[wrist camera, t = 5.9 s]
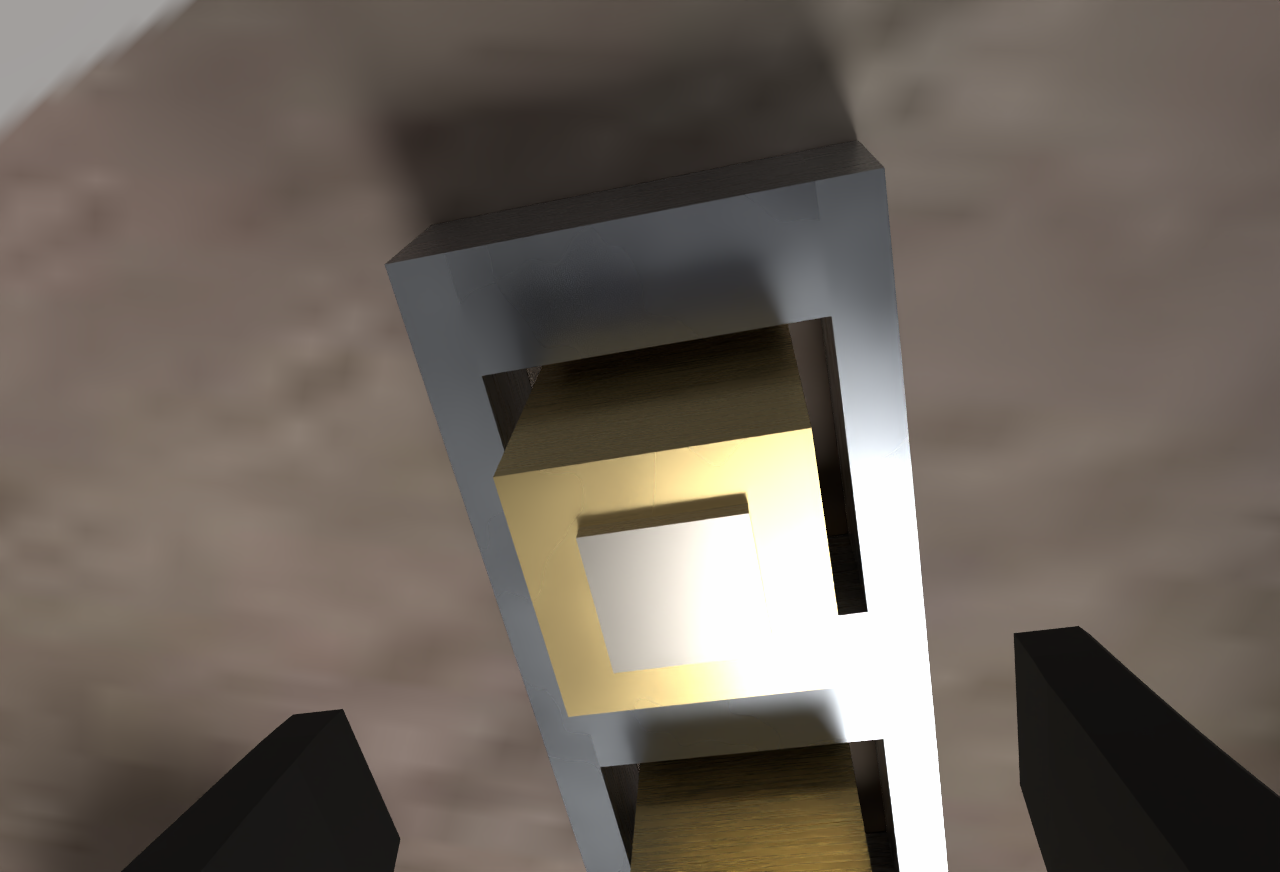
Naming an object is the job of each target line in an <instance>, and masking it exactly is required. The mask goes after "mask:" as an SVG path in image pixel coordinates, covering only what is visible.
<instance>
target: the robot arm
mask: <svg viewBox="0 0 1280 872" xmlns="http://www.w3.org/2000/svg"><path fill="white" fill-rule="evenodd" d="M1014 650H1015V674H1016V698H1017V722H1018V746H1019V770H1020V786H1021V789H1022V792H1023V796H1024V799H1025V802H1026V805H1027V809H1028V812H1029V815H1030V818H1031V822H1032V825H1033V828H1034V831H1035V835H1036V838H1037V841H1038V844H1039V847H1040V850H1041V853H1042V856H1043V860H1044V863H1045V866H1046V869H1047V872H1280V797H1279V796H1278V795H1277V794H1276V793H1275V792H1273V791H1272V790H1271V789H1270V788H1268V787H1267V786H1266V785H1265V784H1263V783H1262V782H1261V781H1260V780H1258V779H1257V778H1256V777H1255V776H1254V775H1252V774H1251V773H1250V772H1249V771H1247V770H1246V769H1245V768H1244V767H1242V766H1241V765H1240V764H1239V763H1237V762H1236V761H1235V760H1234V759H1233V758H1231V757H1230V756H1229V755H1228V754H1226V753H1225V752H1224V751H1223V750H1221V749H1220V748H1219V747H1218V746H1216V745H1215V744H1214V743H1213V742H1212V741H1211V740H1209V739H1208V738H1207V737H1206V736H1205V735H1203V734H1202V733H1201V732H1200V731H1199V730H1197V729H1196V728H1195V727H1194V726H1193V725H1192V724H1190V723H1189V722H1188V721H1187V720H1186V719H1185V718H1183V717H1182V716H1181V715H1180V714H1179V713H1178V712H1176V711H1175V710H1174V709H1173V708H1172V707H1171V706H1170V705H1168V704H1167V703H1166V702H1165V701H1164V700H1163V699H1161V698H1160V697H1159V696H1158V695H1157V694H1156V693H1155V692H1153V691H1152V690H1151V689H1150V688H1149V687H1148V686H1147V685H1145V684H1144V683H1143V682H1142V681H1141V680H1140V679H1139V678H1138V677H1136V676H1135V675H1134V674H1133V673H1132V672H1131V671H1130V670H1129V669H1128V668H1126V667H1125V666H1124V665H1123V664H1122V663H1121V662H1120V661H1119V660H1118V659H1116V658H1115V657H1114V656H1113V655H1112V654H1111V653H1110V652H1109V651H1108V650H1106V649H1105V648H1104V647H1103V646H1102V645H1101V644H1100V643H1099V642H1098V641H1097V640H1095V639H1094V638H1093V637H1092V636H1091V635H1090V634H1088V633H1087V632H1086V631H1084V630H1083V629H1082V628H1080V627H1079V626H1075V627H1067V628H1058V629H1049V630H1040V631H1031V632H1022V633H1014ZM399 843H400V837H399V835H398V832H397V830H396V828H395V826H394V823H393V821H392V819H391V817H390V814H389V812H388V810H387V808H386V805H385V803H384V801H383V799H382V796H381V794H380V792H379V790H378V787H377V785H376V783H375V780H374V778H373V776H372V774H371V771H370V769H369V767H368V765H367V762H366V760H365V758H364V756H363V753H362V751H361V749H360V747H359V744H358V742H357V740H356V738H355V735H354V733H353V731H352V729H351V726H350V724H349V722H348V720H347V717H346V715H345V713H344V711H343V709H339V710H330V711H321V712H312V713H303V714H295V715H292V716H291V717H290V718H288V719H287V720H286V721H285V722H284V723H282V724H281V725H280V726H279V727H278V728H276V729H275V730H274V731H273V732H272V733H271V734H269V735H268V736H267V737H266V738H265V739H264V740H263V741H261V742H260V743H259V744H258V745H257V746H256V747H255V748H254V749H253V750H251V751H250V752H249V753H248V754H247V755H246V756H245V757H244V758H243V759H242V760H241V761H239V762H238V763H237V764H236V765H235V766H234V767H233V768H232V769H231V770H230V771H229V772H228V773H227V774H225V775H224V776H223V777H222V778H221V779H220V780H219V781H218V782H217V783H216V784H215V785H214V786H213V787H212V788H210V789H209V790H208V791H207V792H206V793H205V794H204V795H203V796H202V797H201V798H200V799H199V800H198V801H197V802H196V803H194V804H193V805H192V806H191V807H190V808H189V809H188V810H187V811H186V812H185V813H184V814H183V815H182V816H180V817H179V818H178V819H177V820H176V821H175V822H174V823H173V824H172V825H171V826H170V827H169V828H168V829H166V830H165V831H164V832H163V833H162V834H161V835H160V836H159V837H158V838H157V839H156V840H155V841H153V842H152V843H151V844H150V845H149V846H148V847H147V848H146V849H145V850H144V851H143V852H142V853H141V854H139V855H138V856H137V857H136V858H135V859H134V860H133V861H132V862H131V863H130V864H129V865H128V866H127V867H125V868H124V869H123V870H122V871H121V872H394V867H395V862H396V858H397V853H398V848H399Z"/></svg>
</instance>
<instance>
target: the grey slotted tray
mask: <svg viewBox="0 0 1280 872" xmlns="http://www.w3.org/2000/svg"><path fill="white" fill-rule="evenodd" d="M385 267H386V270H387V273H388V276H389V279H390V282H391V285H392V288H393V291H394V294H395V297H396V300H397V303H398V306H399V309H400V312H401V315H402V318H403V321H404V324H405V327H406V330H407V333H408V336H409V339H410V342H411V345H412V348H413V351H414V354H415V357H416V360H417V363H418V366H419V369H420V372H421V375H422V378H423V381H424V384H425V387H426V390H427V393H428V396H429V399H430V402H431V405H432V408H433V411H434V414H435V417H436V420H437V423H438V426H439V429H440V432H441V435H442V438H443V441H444V444H445V447H446V450H447V453H448V456H449V459H450V462H451V465H452V468H453V471H454V474H455V477H456V480H457V483H458V486H459V489H460V492H461V495H462V498H463V501H464V504H465V507H466V510H467V513H468V516H469V519H470V522H471V525H472V528H473V531H474V534H475V537H476V540H477V543H478V546H479V549H480V552H481V555H482V558H483V561H484V564H485V567H486V570H487V573H488V576H489V579H490V582H491V585H492V588H493V591H494V594H495V597H496V600H497V603H498V606H499V609H500V612H501V615H502V618H503V621H504V624H505V627H506V630H507V633H508V636H509V639H510V642H511V645H512V648H513V651H514V654H515V657H516V660H517V663H518V666H519V669H520V672H521V675H522V678H523V681H524V684H525V687H526V690H527V693H528V696H529V699H530V702H531V705H532V708H533V711H534V714H535V717H536V720H537V723H538V726H539V729H540V732H541V735H542V738H543V741H544V744H545V747H546V750H547V753H548V756H549V759H550V762H551V765H552V768H553V771H554V774H555V777H556V780H557V783H558V786H559V789H560V792H561V795H562V798H563V801H564V804H565V807H566V810H567V813H568V816H569V819H570V822H571V825H572V828H573V831H574V834H575V838H576V841H577V844H578V847H579V850H580V853H581V856H582V859H583V862H584V865H585V868H586V871H587V872H630V870H631V859H632V848H633V837H634V826H635V815H636V804H637V793H638V782H639V772H638V769H637V765H636V763H646V762H656V761H666V760H676V759H686V758H696V757H706V756H716V755H726V754H736V753H746V752H756V751H766V750H776V749H786V748H796V747H806V746H816V745H826V744H836V743H846V742H856V741H866V740H875V745H876V753H877V761H878V769H879V776H880V784H881V792H882V800H883V808H884V815H885V823H886V831H887V832H883V833H871V834H865V836H866V841H867V847H868V852H869V858H870V863H871V869H872V872H948V867H947V856H946V845H945V834H944V823H943V812H942V801H941V790H940V779H939V768H938V756H937V745H936V734H935V723H934V712H933V701H932V690H931V679H930V668H929V657H928V646H927V635H926V623H925V612H924V601H923V590H922V579H921V568H920V557H919V546H918V535H917V524H916V513H915V502H914V491H913V479H912V468H911V457H910V446H909V435H908V424H907V413H906V402H905V391H904V380H903V369H902V358H901V347H900V335H899V324H898V313H897V302H896V291H895V280H894V269H893V258H892V247H891V236H890V225H889V214H888V203H887V191H886V180H885V169H884V167H883V166H882V165H881V164H880V163H879V162H878V160H877V159H876V158H875V157H874V156H873V155H872V154H871V153H870V152H869V151H868V150H867V149H866V148H865V147H864V146H863V145H862V144H861V143H860V142H859V141H858V140H856V141H851V142H846V143H841V144H836V145H831V146H826V147H821V148H816V149H811V150H806V151H801V152H796V153H791V154H786V155H781V156H776V157H771V158H766V159H761V160H756V161H751V162H746V163H741V164H736V165H731V166H726V167H721V168H716V169H711V170H706V171H701V172H696V173H691V174H686V175H681V176H676V177H671V178H666V179H661V180H656V181H651V182H646V183H641V184H636V185H631V186H626V187H621V188H616V189H611V190H606V191H601V192H596V193H590V194H585V195H580V196H575V197H570V198H565V199H560V200H555V201H550V202H545V203H540V204H535V205H530V206H525V207H520V208H515V209H510V210H505V211H500V212H495V213H490V214H485V215H480V216H475V217H470V218H465V219H460V220H455V221H450V222H445V223H440V224H435V225H431V226H430V227H429V228H427V229H426V230H425V231H424V232H423V233H421V234H420V235H419V236H418V237H417V238H416V239H414V240H413V241H412V242H411V243H410V244H408V245H407V246H406V247H405V248H404V249H402V250H401V251H400V252H399V253H398V254H397V255H395V256H394V257H393V258H392V259H391V260H389V261H388V262H387V263H386V264H385ZM817 318H821V323H822V331H823V339H824V347H825V355H826V362H827V370H828V378H829V386H830V394H831V401H832V409H833V417H834V425H835V433H836V440H837V448H838V456H839V464H840V472H841V480H842V487H843V495H844V503H845V511H846V519H847V526H848V534H846V535H838V536H831V537H827V541H828V548H829V555H830V562H831V570H832V577H833V584H834V591H835V598H836V605H837V612H838V619H839V626H840V633H841V640H842V647H843V654H844V661H845V668H846V675H847V683H848V686H841V687H832V688H823V689H814V690H806V691H797V692H788V693H779V694H770V695H761V696H752V697H743V698H734V699H725V700H716V701H707V702H698V703H689V704H680V705H671V706H662V707H653V708H644V709H635V710H626V711H617V712H608V713H599V714H591V715H582V716H573V717H568V715H567V712H566V708H565V705H564V702H563V699H562V696H561V692H560V689H559V686H558V683H557V680H556V677H555V673H554V670H553V667H552V664H551V661H550V657H549V654H548V651H547V648H546V645H545V642H544V638H543V635H542V632H541V629H540V626H539V622H538V619H537V616H536V613H535V610H534V607H533V603H532V600H531V597H530V594H529V591H528V587H527V584H526V581H525V578H524V575H523V572H522V568H521V565H520V562H519V559H518V556H517V552H516V549H515V546H514V543H513V540H512V537H511V533H510V530H509V527H508V524H507V521H506V517H505V514H504V511H503V508H502V505H501V501H500V498H499V495H498V492H497V489H496V486H495V482H494V479H493V476H494V474H495V472H496V469H497V467H498V465H499V463H500V460H501V458H502V456H503V454H504V451H505V449H506V447H507V445H508V442H509V440H510V438H511V436H512V433H513V431H514V429H515V427H516V424H517V422H518V420H519V418H520V415H521V413H522V411H523V409H524V406H525V404H526V402H527V400H528V397H529V395H530V393H531V391H532V390H531V386H530V383H529V379H528V375H527V372H526V368H530V367H536V366H542V365H548V364H554V363H560V362H566V361H571V360H577V359H583V358H589V357H595V356H601V355H606V354H612V353H618V352H624V351H630V350H636V349H642V348H647V347H653V346H659V345H665V344H671V343H677V342H682V341H688V340H694V339H700V338H706V337H712V336H717V335H723V334H729V333H735V332H741V331H747V330H753V329H758V328H764V327H770V326H776V325H782V324H788V323H793V322H799V321H805V320H811V319H817Z"/></svg>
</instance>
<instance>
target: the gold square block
mask: <svg viewBox="0 0 1280 872" xmlns="http://www.w3.org/2000/svg"><path fill="white" fill-rule="evenodd" d="M493 479H494V482H495V486H496V489H497V492H498V495H499V498H500V501H501V505H502V508H503V511H504V514H505V517H506V521H507V524H508V527H509V530H510V533H511V537H512V540H513V543H514V546H515V549H516V552H517V556H518V559H519V562H520V565H521V568H522V572H523V575H524V578H525V581H526V584H527V587H528V591H529V594H530V597H531V600H532V603H533V607H534V610H535V613H536V616H537V619H538V622H539V626H540V629H541V632H542V635H543V638H544V642H545V645H546V648H547V651H548V654H549V657H550V661H551V664H552V667H553V670H554V673H555V677H556V680H557V683H558V686H559V689H560V692H561V696H562V699H563V702H564V705H565V708H566V712H567V715H568V717H573V716H582V715H591V714H599V713H608V712H617V711H626V710H635V709H644V708H653V707H662V706H671V705H680V704H689V703H698V702H707V701H716V700H725V699H734V698H743V697H752V696H761V695H770V694H779V693H788V692H797V691H806V690H814V689H823V688H832V687H841V686H848V683H847V675H846V668H845V661H844V654H843V647H842V640H841V633H840V626H839V619H838V612H837V605H836V598H835V591H834V584H833V577H832V570H831V562H830V555H829V548H828V541H827V534H826V527H825V520H824V513H823V506H822V499H821V492H820V485H819V478H818V471H817V464H816V457H815V450H814V442H813V435H812V428H811V424H810V420H809V415H808V411H807V407H806V402H805V398H804V393H803V389H802V385H801V380H800V376H799V372H798V367H797V363H796V359H795V354H794V350H793V346H792V341H791V337H790V333H789V328H788V324H782V325H776V326H770V327H764V328H758V329H753V330H747V331H741V332H735V333H729V334H723V335H717V336H712V337H706V338H700V339H694V340H688V341H682V342H677V343H671V344H665V345H659V346H653V347H647V348H642V349H636V350H630V351H624V352H618V353H612V354H606V355H601V356H595V357H589V358H583V359H577V360H571V361H566V362H560V363H554V364H548V365H543V366H542V368H541V371H540V373H539V375H538V377H537V379H536V382H535V384H534V386H533V388H532V391H531V393H530V395H529V397H528V400H527V402H526V404H525V406H524V409H523V411H522V413H521V415H520V418H519V420H518V422H517V424H516V427H515V429H514V431H513V433H512V436H511V438H510V440H509V442H508V445H507V447H506V449H505V451H504V454H503V456H502V458H501V460H500V463H499V465H498V467H497V469H496V472H495V474H494V476H493Z"/></svg>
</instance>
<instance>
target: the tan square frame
mask: <svg viewBox="0 0 1280 872" xmlns="http://www.w3.org/2000/svg"><path fill="white" fill-rule="evenodd" d="M630 872H872V869H871V863H870V858H869V852H868V847H867V841H866V836H865V830H864V825H863V819H862V814H861V808H860V803H859V798H858V792H857V787H856V781H855V776H854V770H853V765H852V759H851V754H850V748H849V743H848V742H846V743H836V744H826V745H816V746H806V747H796V748H786V749H776V750H766V751H756V752H746V753H736V754H726V755H716V756H706V757H696V758H686V759H676V760H666V761H656V762H646V763H640V771H639V782H638V793H637V804H636V815H635V826H634V837H633V848H632V859H631V870H630Z"/></svg>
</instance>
